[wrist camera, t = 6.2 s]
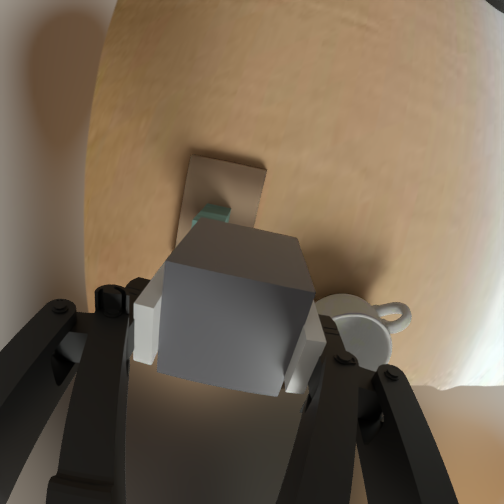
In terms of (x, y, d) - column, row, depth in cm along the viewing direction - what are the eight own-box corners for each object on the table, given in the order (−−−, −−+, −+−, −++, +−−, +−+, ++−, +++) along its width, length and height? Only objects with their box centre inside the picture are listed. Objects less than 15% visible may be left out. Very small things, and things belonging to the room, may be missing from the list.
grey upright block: (201, 217, 17) (165, 260, 10) (297, 237, 17) (315, 292, 11) (188, 301, 18) (157, 372, 12) (273, 319, 19) (277, 396, 12)
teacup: (305, 361, 40) (312, 403, 33) (280, 298, 37) (283, 337, 29) (399, 327, 38) (421, 363, 30) (387, 260, 35) (414, 290, 27)
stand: (193, 154, 31) (171, 158, 24) (266, 169, 32) (267, 178, 24) (176, 256, 35) (153, 288, 28) (242, 271, 36) (236, 307, 28)
